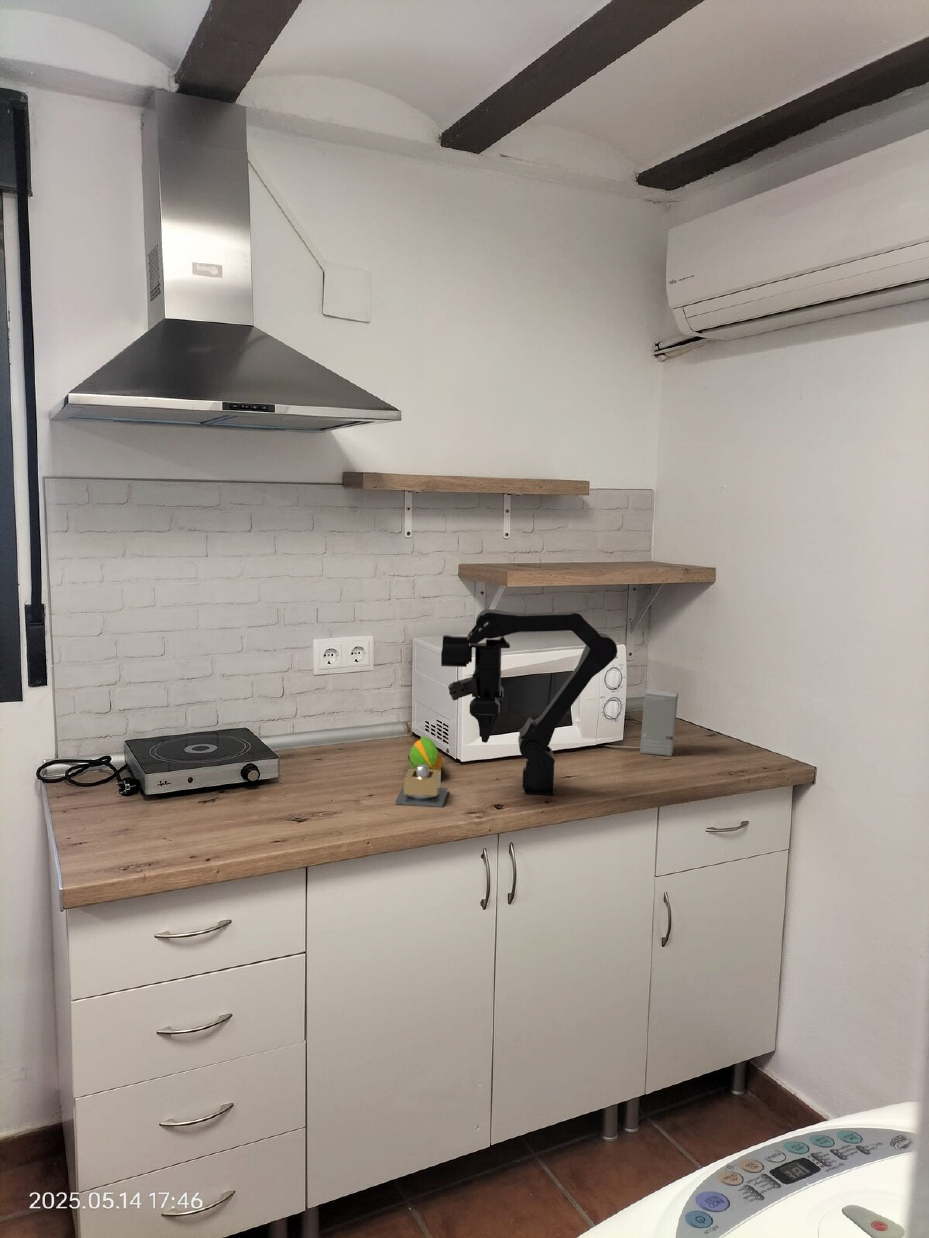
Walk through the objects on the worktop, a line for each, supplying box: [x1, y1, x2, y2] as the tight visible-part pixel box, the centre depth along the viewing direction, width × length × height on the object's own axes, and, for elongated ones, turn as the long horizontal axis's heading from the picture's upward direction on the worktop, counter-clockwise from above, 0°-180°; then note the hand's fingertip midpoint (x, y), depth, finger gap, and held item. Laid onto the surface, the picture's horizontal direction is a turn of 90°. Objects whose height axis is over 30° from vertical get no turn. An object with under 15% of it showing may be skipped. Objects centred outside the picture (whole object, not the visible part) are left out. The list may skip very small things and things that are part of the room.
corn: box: [407, 736, 443, 771], centre depth 216 cm, size 7×8×20 cm
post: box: [394, 765, 449, 808], centre depth 196 cm, size 10×10×7 cm
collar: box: [403, 768, 442, 796], centre depth 196 cm, size 7×7×4 cm
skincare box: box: [639, 688, 679, 757], centre depth 235 cm, size 8×7×16 cm
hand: (486, 736), depth 201 cm, fingers open, 9 cm apart
